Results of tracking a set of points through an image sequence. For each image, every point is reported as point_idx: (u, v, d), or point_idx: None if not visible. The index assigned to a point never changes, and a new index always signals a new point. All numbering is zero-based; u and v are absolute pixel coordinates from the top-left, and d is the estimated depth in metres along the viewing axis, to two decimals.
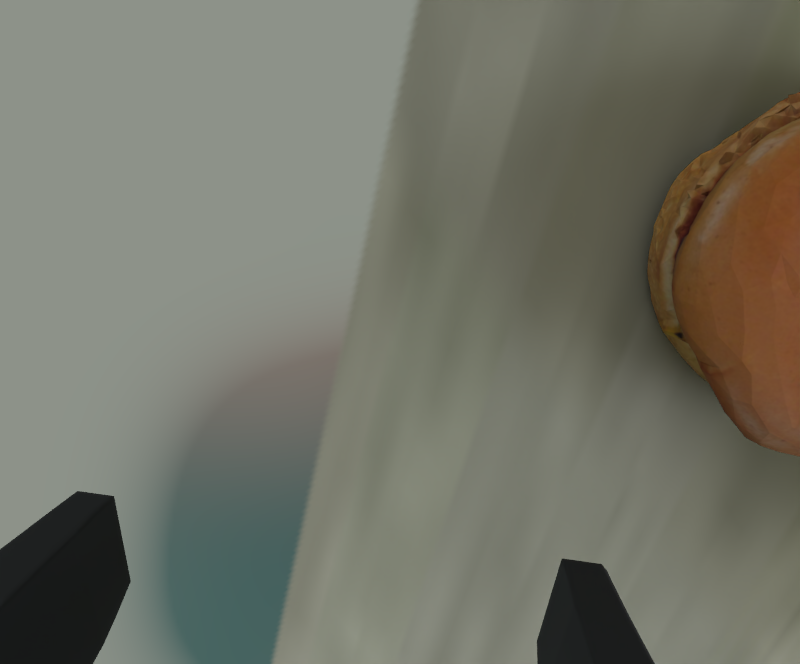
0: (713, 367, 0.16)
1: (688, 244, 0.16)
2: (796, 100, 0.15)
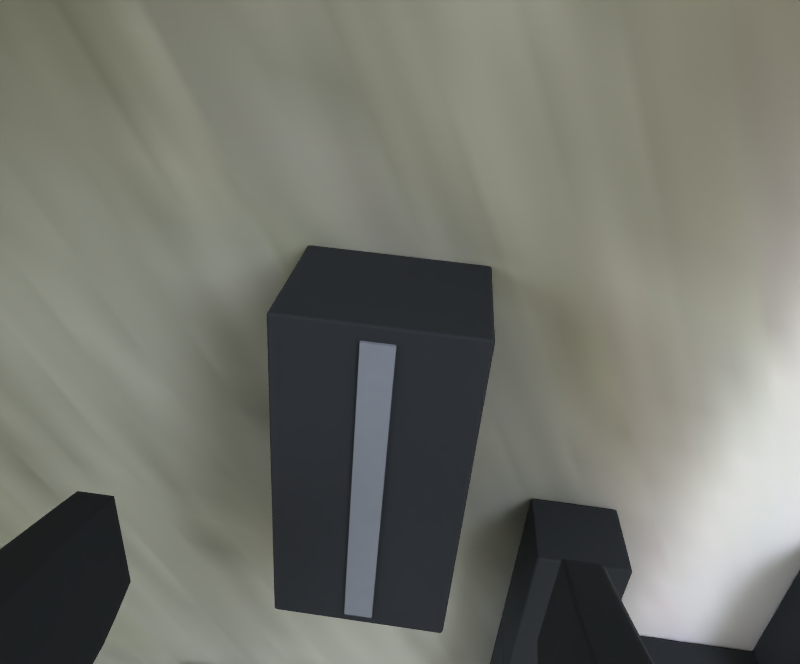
0: None
1: None
2: None
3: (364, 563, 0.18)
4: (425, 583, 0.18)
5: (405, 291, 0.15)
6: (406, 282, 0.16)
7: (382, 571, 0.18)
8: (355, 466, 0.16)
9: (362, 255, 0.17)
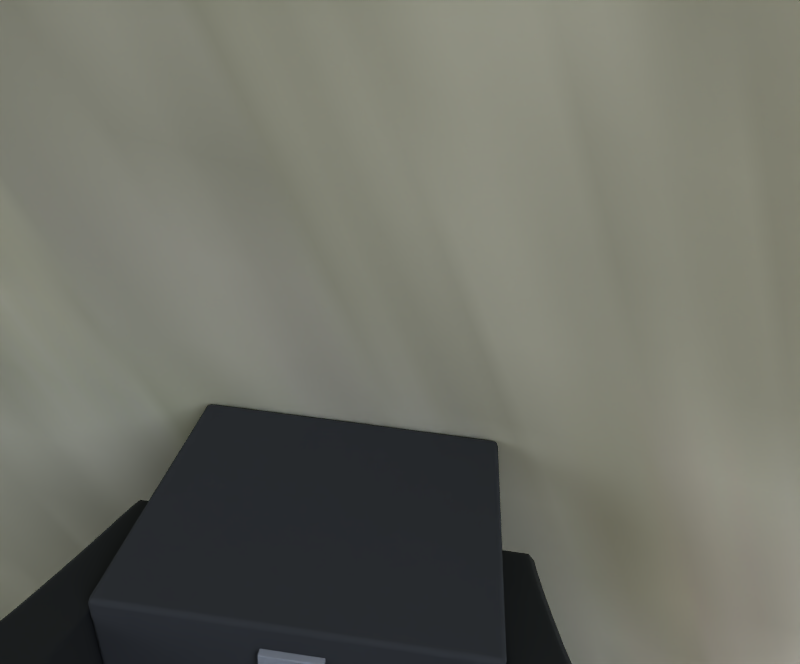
0: None
1: None
2: None
3: None
4: None
5: (352, 520, 0.09)
6: (356, 492, 0.09)
7: None
8: None
9: (291, 425, 0.11)
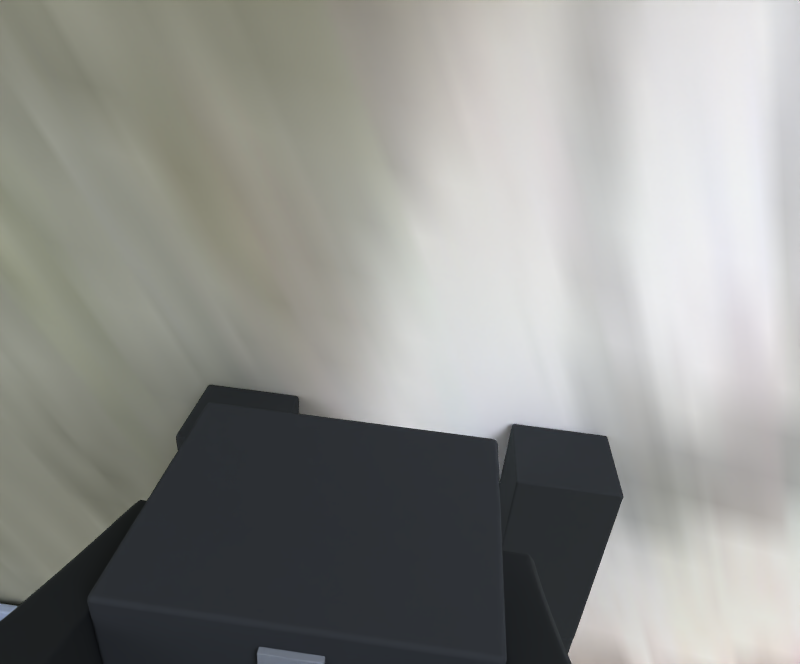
0: None
1: None
2: None
3: None
4: None
5: (352, 518, 0.09)
6: (355, 490, 0.09)
7: None
8: None
9: (291, 423, 0.11)
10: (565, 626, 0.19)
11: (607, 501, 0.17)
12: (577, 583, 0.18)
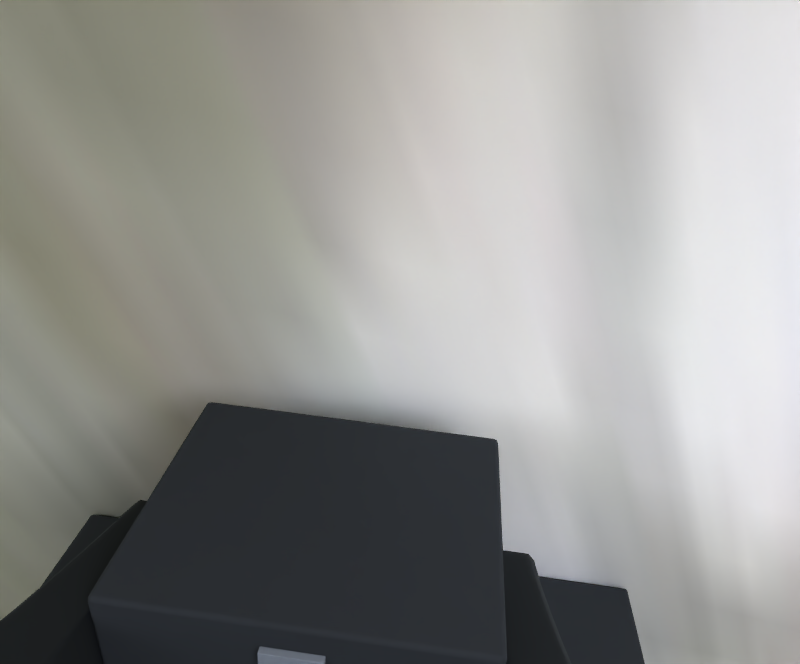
0: None
1: None
2: None
3: None
4: None
5: (352, 517, 0.09)
6: (356, 490, 0.09)
7: None
8: None
9: (291, 423, 0.11)
10: None
11: None
12: None
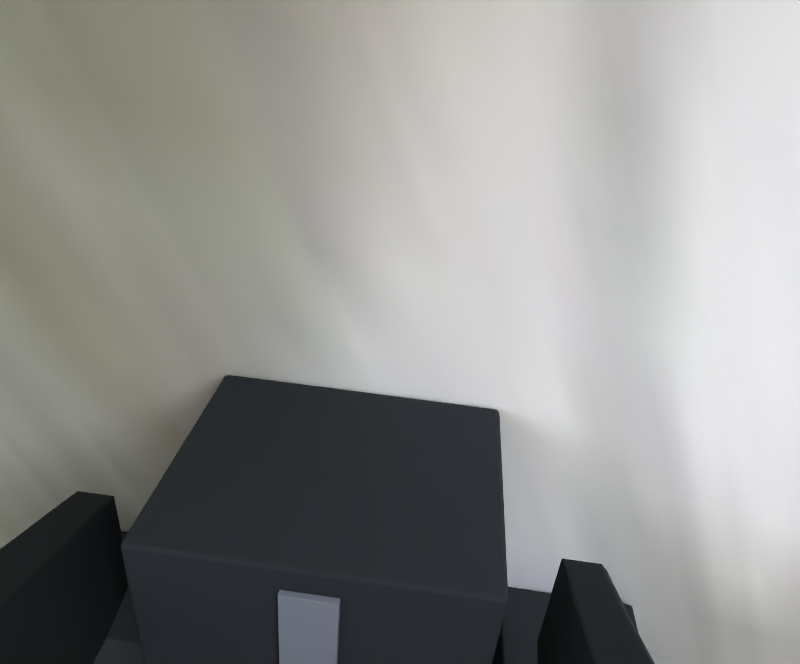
0: None
1: None
2: None
3: None
4: None
5: (363, 477, 0.10)
6: (366, 453, 0.10)
7: None
8: None
9: (304, 394, 0.11)
10: None
11: None
12: None
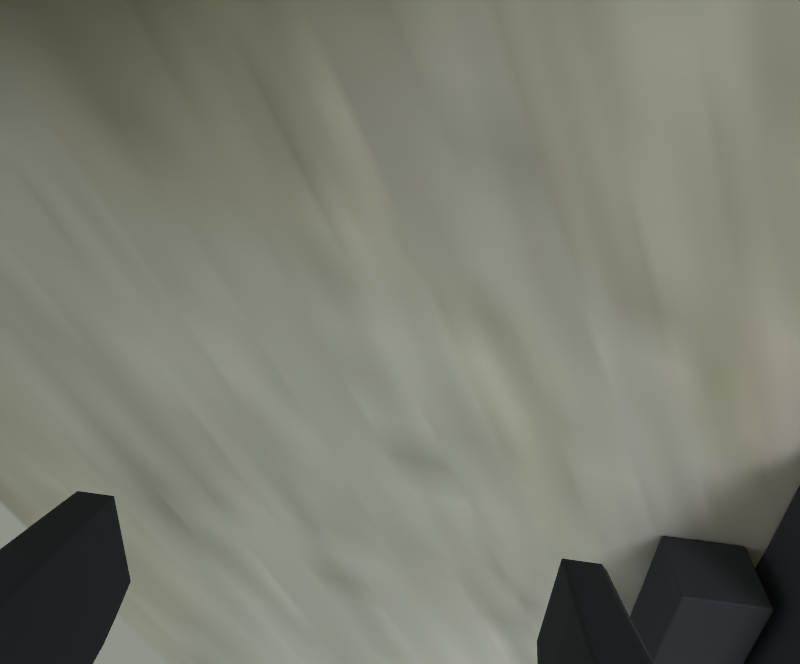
0: None
1: None
2: None
3: None
4: None
5: None
6: None
7: None
8: None
9: None
10: None
11: None
12: None
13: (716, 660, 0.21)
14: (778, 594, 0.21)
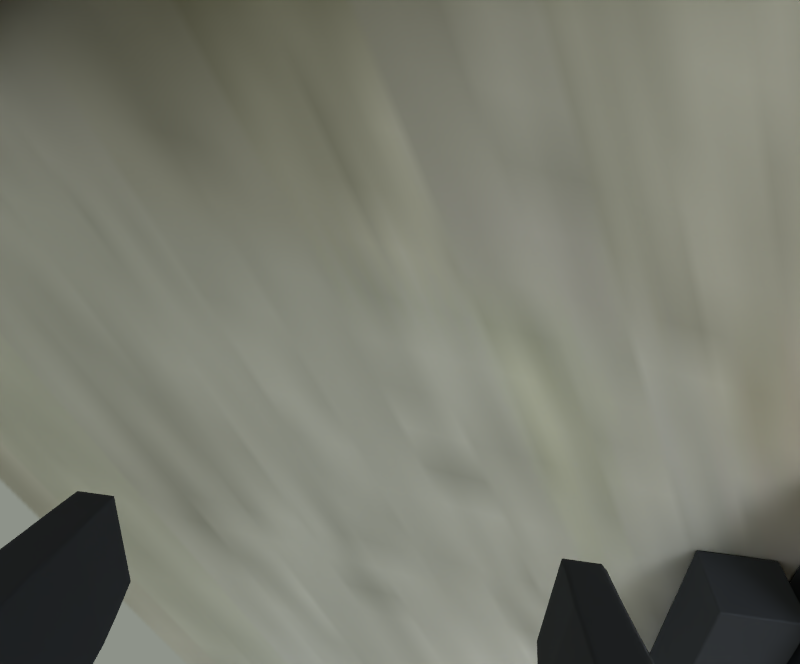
0: None
1: None
2: None
3: None
4: None
5: None
6: None
7: None
8: None
9: None
10: None
11: None
12: None
13: None
14: None
